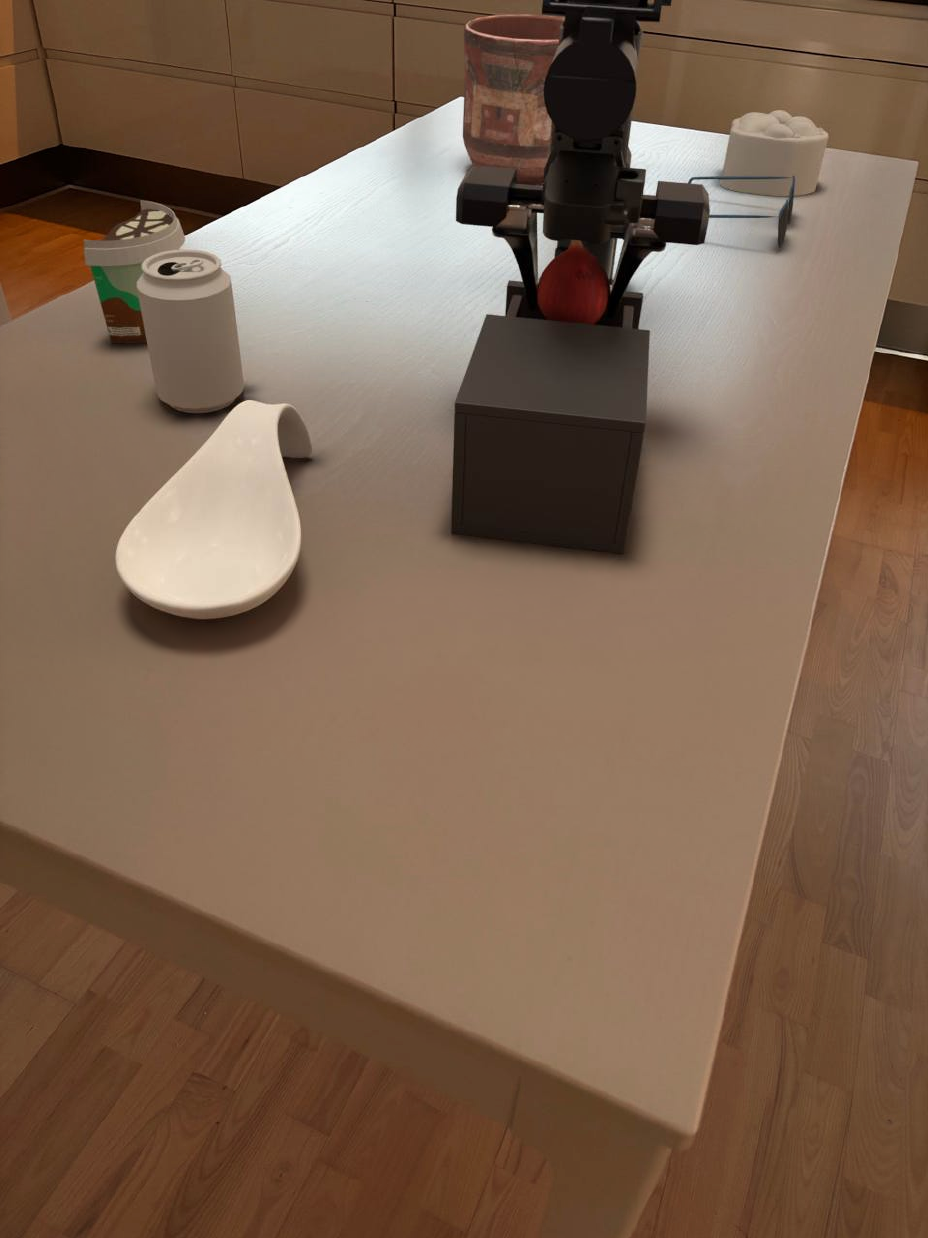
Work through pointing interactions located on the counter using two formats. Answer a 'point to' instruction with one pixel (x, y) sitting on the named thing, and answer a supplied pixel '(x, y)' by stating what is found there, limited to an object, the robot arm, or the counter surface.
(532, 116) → the pottery
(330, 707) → the counter surface
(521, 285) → the drawer
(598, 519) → the dark grey storage box
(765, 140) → the lumpy-topped squat cylinder
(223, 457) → the spoon rest
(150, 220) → the food container
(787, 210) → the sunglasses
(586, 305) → the onion
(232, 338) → the can
